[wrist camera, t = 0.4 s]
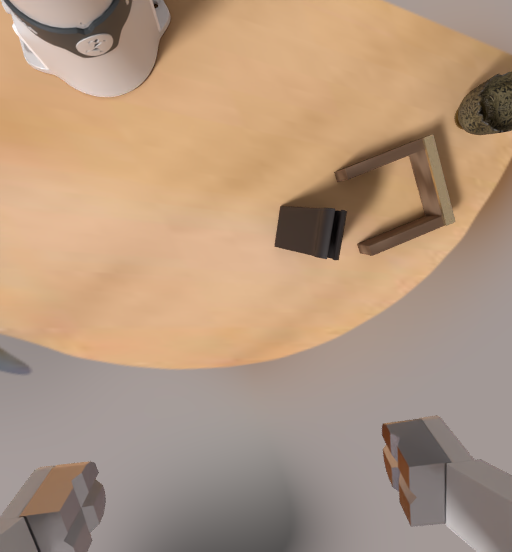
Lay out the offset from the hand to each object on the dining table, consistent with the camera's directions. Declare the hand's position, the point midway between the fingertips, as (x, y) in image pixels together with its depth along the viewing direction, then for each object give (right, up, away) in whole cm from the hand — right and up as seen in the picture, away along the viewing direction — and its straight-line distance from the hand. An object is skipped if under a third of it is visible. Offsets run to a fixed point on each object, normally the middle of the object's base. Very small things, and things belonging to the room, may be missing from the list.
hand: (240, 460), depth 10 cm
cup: (+32, +29, +44) cm, 62 cm away
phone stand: (+8, +12, +44) cm, 46 cm away
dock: (+20, +17, +45) cm, 52 cm away
